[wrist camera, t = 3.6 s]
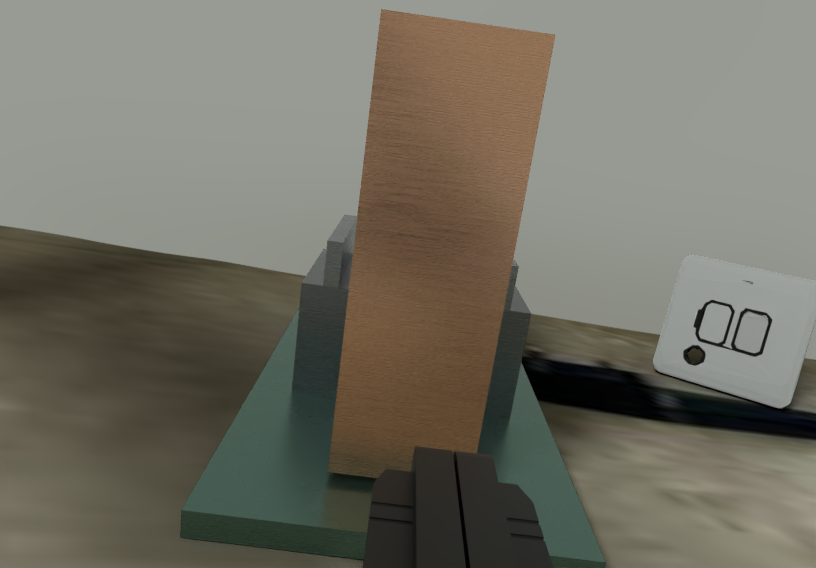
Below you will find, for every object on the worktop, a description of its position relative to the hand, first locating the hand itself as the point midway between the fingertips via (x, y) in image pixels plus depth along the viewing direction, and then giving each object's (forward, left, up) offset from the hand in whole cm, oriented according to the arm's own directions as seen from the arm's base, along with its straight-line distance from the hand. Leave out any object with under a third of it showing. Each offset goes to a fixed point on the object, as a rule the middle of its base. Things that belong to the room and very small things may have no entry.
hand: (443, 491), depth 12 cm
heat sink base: (0, +23, -9) cm, 25 cm away
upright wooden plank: (0, +18, -8) cm, 20 cm away
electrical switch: (+24, +33, -10) cm, 42 cm away
